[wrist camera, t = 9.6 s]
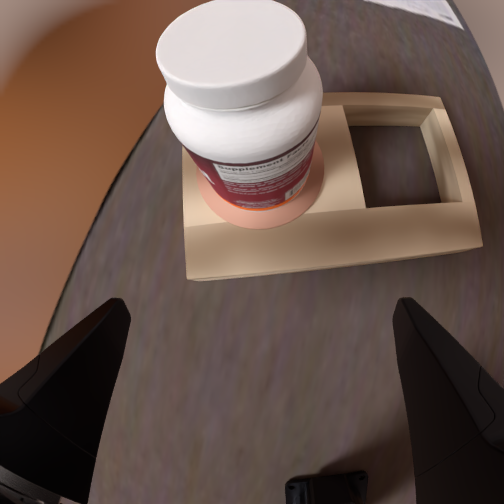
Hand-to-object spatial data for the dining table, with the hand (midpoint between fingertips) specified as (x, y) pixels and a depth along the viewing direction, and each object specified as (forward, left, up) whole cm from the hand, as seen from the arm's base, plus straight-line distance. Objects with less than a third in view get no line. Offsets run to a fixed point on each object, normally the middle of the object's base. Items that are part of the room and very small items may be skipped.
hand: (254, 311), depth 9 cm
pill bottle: (+8, 0, -8) cm, 11 cm away
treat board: (+8, -5, -11) cm, 15 cm away
